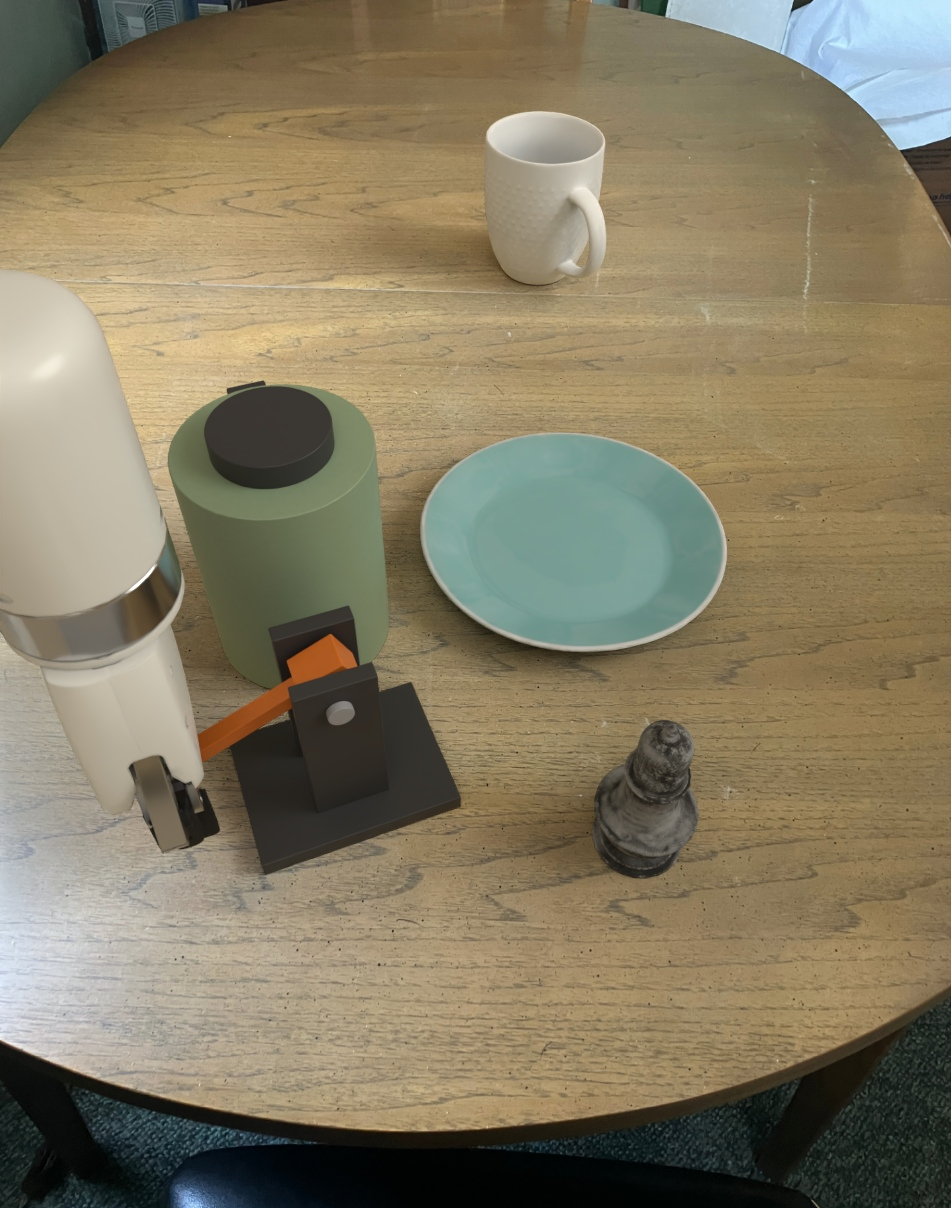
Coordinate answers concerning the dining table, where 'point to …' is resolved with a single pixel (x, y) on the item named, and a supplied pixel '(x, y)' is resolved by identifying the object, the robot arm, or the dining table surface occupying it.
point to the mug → (544, 195)
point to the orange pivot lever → (274, 697)
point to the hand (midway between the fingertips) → (180, 791)
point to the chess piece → (647, 804)
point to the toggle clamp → (338, 756)
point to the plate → (573, 542)
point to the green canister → (282, 516)
